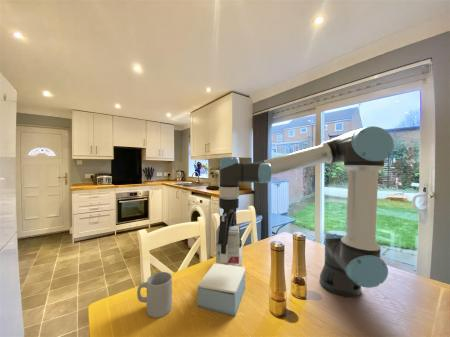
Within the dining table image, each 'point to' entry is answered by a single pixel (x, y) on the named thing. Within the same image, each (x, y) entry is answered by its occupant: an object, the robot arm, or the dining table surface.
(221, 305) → the blue lidded box
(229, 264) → the jar
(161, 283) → the mug
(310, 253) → the dining table surface
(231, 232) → the ink box
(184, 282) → the dining table surface
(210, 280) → the lid
